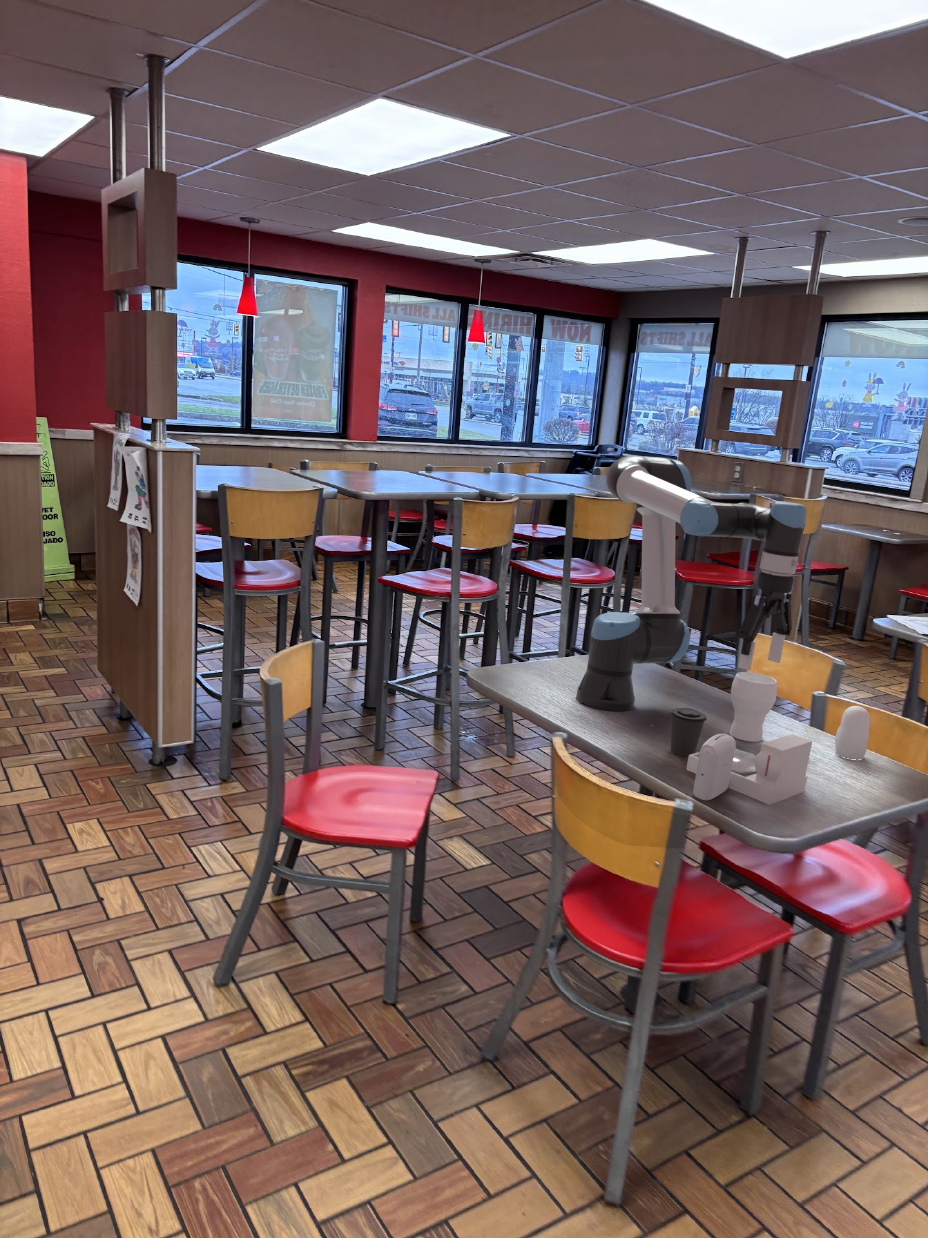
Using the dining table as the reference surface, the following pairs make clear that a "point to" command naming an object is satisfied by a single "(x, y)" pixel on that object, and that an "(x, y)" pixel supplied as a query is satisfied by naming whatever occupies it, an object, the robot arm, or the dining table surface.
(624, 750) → the dining table surface
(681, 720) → the coffee cup
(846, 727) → the figurine
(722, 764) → the photo printer
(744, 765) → the pan
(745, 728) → the cup
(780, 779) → the base
